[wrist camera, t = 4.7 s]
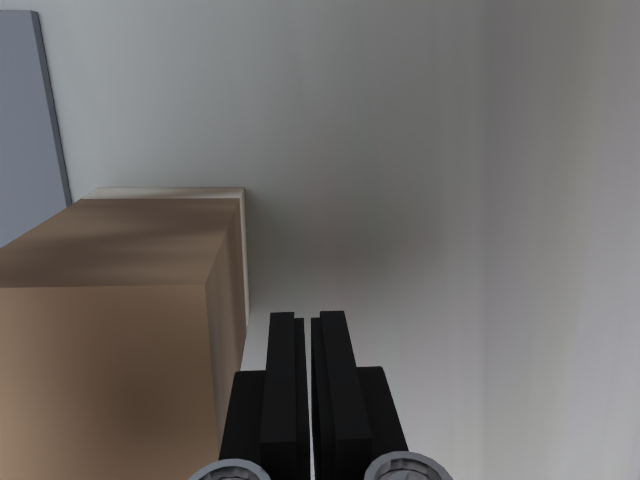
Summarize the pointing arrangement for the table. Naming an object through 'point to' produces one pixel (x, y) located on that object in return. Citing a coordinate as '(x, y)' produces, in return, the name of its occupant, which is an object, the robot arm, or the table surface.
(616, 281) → the table surface
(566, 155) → the table surface
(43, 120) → the mat
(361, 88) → the table surface
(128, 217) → the walnut block
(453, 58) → the table surface
